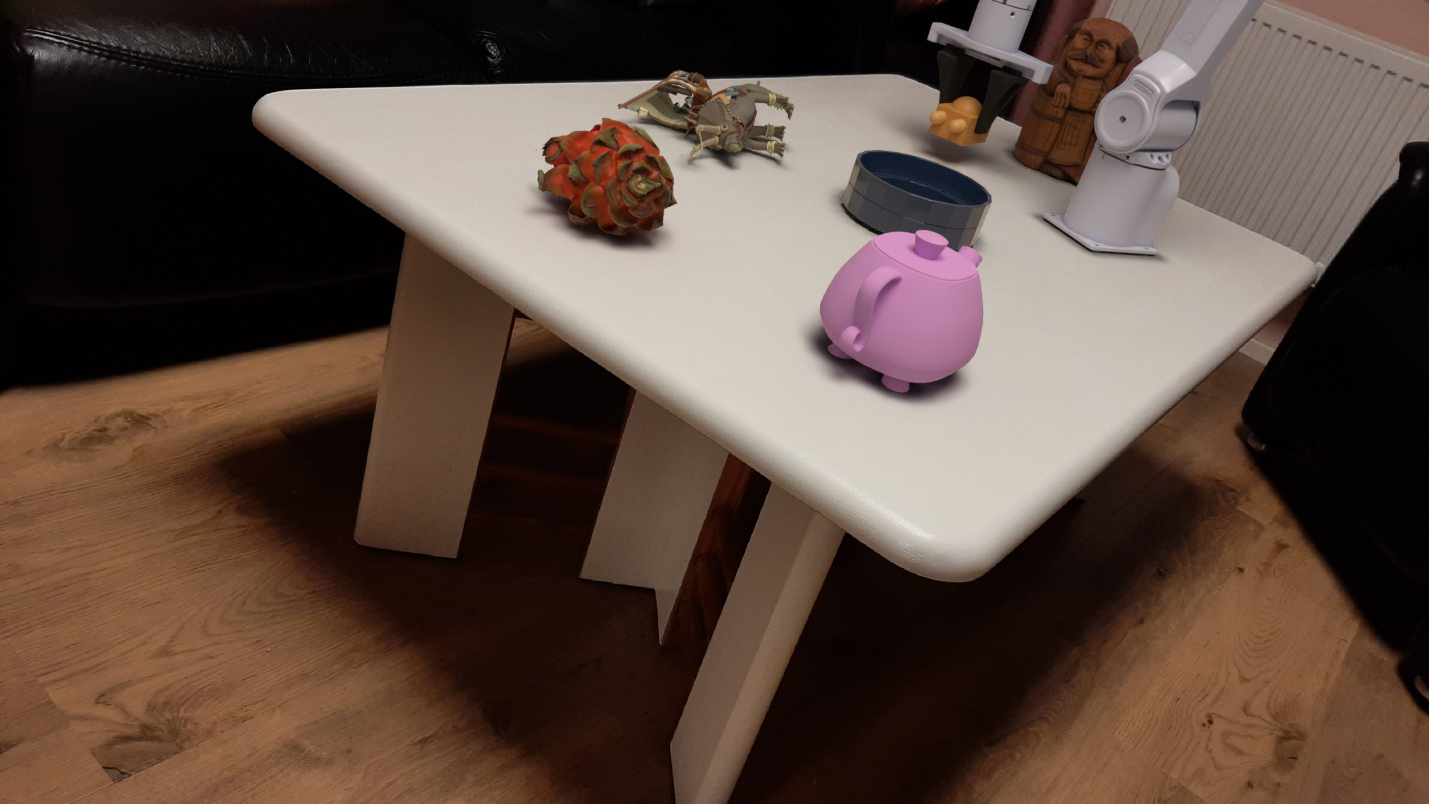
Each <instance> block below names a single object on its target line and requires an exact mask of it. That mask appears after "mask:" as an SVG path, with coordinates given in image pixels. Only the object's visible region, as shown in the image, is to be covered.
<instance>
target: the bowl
mask: <svg viewBox="0 0 1429 804" xmlns="http://www.w3.org/2000/svg"><path fill="white" fill-rule="evenodd" d="M992 198H993V197H992V194H991V193H990V192H989V191H988V189H987V188H986V187H985V186H983V185H982V184H980V183H979V182H978V181H976V180H975V179H973V178H972V177H970V176H968V175H966V174H963V173H962V172H960V171H959V170H956V169H953V168H951V167H950V166H949V167H948V166H946V165H944V164H941V163H939V162H937V161H934V160H930V159H927V158H923V157H920V156H918V155H912V154H908V153H905V152H900V151H893V150H884V149H872V150H864V151H861V152H858V153H857V155H856V158H855V160H854V163H853V167H852V170H851V172H850V176H849V178H848V181H847V185H846V188H845V190H844V194H843V197H842V199H841V200H842V203H843V205H844V207H845V209H846V211H848V212H849V213H850V214H851V215H853V216H854V217H855V218H856V219H858V220H859V221H860V222H862V223H864V224H865V225H867V226H869V227H871V228H872V229H874V230H877V231H879V232H881V233H882V234H885V233H889V232H907V233H912V234H916V231H918V230H928V231H932V232H935V233H937V234H940V235H941V236H943V237H944V238H945V239H947V240H948V245H947V247H949V248H951V249H952V250H954V251H959V250H960V248H961V247H962V246H967V247H970V248H971V247H972V246H973V245H975V244H976V243H977V241H978V240H977V239H978V237H979V236H980V235H979V234H980V232H981V230H982V228H983V225H984V223H985V220H986V219H987V215H988V213H989V211H990V207H991V206H992V203H993V199H992Z"/></svg>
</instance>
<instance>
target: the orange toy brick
mask: <svg viewBox="0 0 1429 804" xmlns="http://www.w3.org/2000/svg"><path fill="white" fill-rule="evenodd" d="M982 107H983V105H982V104H981V102H980V101H979V100H978V99H977V98H975V97H972V96H966V95H965V96H960V97H958V99H956V100H955V101H954V102H953V103H944V104H939V103H938V104H937V106H936V109H935V111H932V112H931V113H930V114H929V121H930V126H929V129H928V132H929V133H932V134H933V135H935V136H938V137H941V138H943V139H944V140H947V141H950V142H951V143H954V144H956V145H957V146H960V147H961V146H968V145H969V146H970V145H974V144H975V145H976V144H982V143H986V141H987V138H988V136H989V134H990V131H991V129H992V126H993V124H992V125H991V127H990V128H989V130H988V132H987V133H986V134H976V133H974V130H975V126H976V123H977V119H978V117H979V114H980V112H981V109H982Z"/></svg>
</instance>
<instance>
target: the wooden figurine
mask: <svg viewBox="0 0 1429 804" xmlns="http://www.w3.org/2000/svg"><path fill="white" fill-rule="evenodd" d="M1053 48H1054V49H1053V51H1052V53H1051V55H1050V59H1049V61H1048V62H1047V64H1050V65H1052V66H1054V67H1053V70H1052V72H1051V75H1050V77H1049V80H1048V82H1047V83H1046V84H1040V85H1039V86H1038V88H1037V90H1036V91H1035V94H1034V96H1033V99H1032V101H1031V104H1030V106H1029V108H1028V111H1027V113H1026V116H1025V118H1024V120H1023V124H1022V126H1021V129H1020V131H1019V135H1018V137H1017V141H1016V143H1015V146H1014V149H1013V155H1014V157H1015V158H1016V159H1017V160H1018V161H1019V162H1020V163H1021V164H1023V165H1025V166H1027V167H1028V168H1031V169H1032V170H1039V171H1041V172H1043V173H1045V174H1047V175H1051V176H1054V177H1056V178H1058V179H1060V180H1068V181H1071V182H1073V183H1075V184H1077V185H1078V183H1079V181H1080V178H1081V176H1082V174H1083V172H1084V169H1085V167H1086V165H1087V163H1088V160H1089V158H1090V156H1091V154H1092V152H1093V149H1094V147H1095V146H1094V145H1095V143H1096V141H1097V139H1098V138H1097V136H1096V133H1095V127H1094V119H1095V114H1096V111H1097V108H1098V106H1099V104H1100V102H1101V101H1102V99H1103V98H1104V97H1105V96H1106V95H1107V94H1108V93H1109V92H1111V91H1112V90H1114V89H1115V88H1117V87H1119V86H1120V85H1121V84H1122V83H1123V82H1124V81H1125V80H1126V79H1127V77H1128V76H1129V74H1130V73H1131V71H1132V70H1133V69H1134V68H1135V67H1136V66H1138V65H1139V64H1140V63H1142V62H1143V61H1144V60H1142V58H1141V57H1140V56H1139V55H1140V49H1139V44H1138V42H1137V39H1136V37H1135V35H1134V34H1133V32H1132V31H1131V30H1130V29H1129V28H1128V27H1127V26H1126V25H1124V24H1123V23H1121V22H1119V21H1116V20H1113V19H1111V18H1108V17H1103V16H1102V17H1100V16H1099V17H1097V16H1096V17H1089V18H1085V19H1082V20H1081V21H1078V22H1075V24H1073V25H1072V26H1071V27H1070V28H1069V30H1068V31H1067V34H1066V35H1064V36H1061V38H1059V40H1058V41H1057V42H1056V44H1055V46H1054V47H1053Z"/></svg>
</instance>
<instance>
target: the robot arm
mask: <svg viewBox="0 0 1429 804" xmlns="http://www.w3.org/2000/svg"><path fill="white" fill-rule="evenodd" d="M1265 2H1266V0H1191V2H1190V3H1189V5H1188V6H1187V8H1186V9H1185V11H1184V13H1182V15H1181V16H1180V18H1179V20H1178V21H1177V23H1176V24H1175V26H1174V28H1173V29H1172V30H1171V31H1170V33H1169V34H1168V37H1167V38H1166V39H1165V40H1164V43H1163V44H1162V45H1161V47H1160V49H1159V50H1157V51H1156V52H1155V53H1153V54H1152V55H1151V56H1149V57H1148V58H1146V59H1144V60H1142V61H1143V62H1142V63H1140V64H1139V65H1138V66H1136V67H1135V68H1134V69H1133V70H1132V71H1131V73H1130V74H1129V76H1128V77H1127V79H1126V80H1125V81H1124V82H1123V83H1122V84H1121V85H1120V86H1119V87H1117V88H1115V89H1114V90H1112V91H1111V92H1109V93H1108V94H1107V95H1106V96H1105V97H1104V98H1103V99H1102V101H1101V102H1100V104H1099V106H1098V108H1097V111H1096V114H1095V119H1094V127H1095V133H1096V136H1097V138H1098V139H1097V141H1096V143H1095V145H1094V146H1095V147H1094V149H1093V152H1092V154H1091V156H1090V158H1089V160H1088V163H1087V165H1086V167H1085V169H1084V172H1083V174H1082V176H1081V178H1080V181H1079V183H1078V184H1077V186H1076V187H1075V190H1074V192H1073V194H1072V196H1071V199H1070V201H1069V203H1068V206H1067V207H1066V210H1065V211H1064V214H1061V213H1060V214H1059V213H1048V212H1045V213H1044V214H1043V218H1044V219H1045V220H1047V221H1048V222H1049V223H1051V224H1052V225H1054V226H1056V227H1057V228H1058V229H1060V230H1061V231H1062V232H1064V233H1066V234H1067V235H1069V236H1070V237H1071V238H1073V239H1074V240H1076V241H1077V242H1079V244H1081V245H1083V246H1084V247H1086V248H1088V249H1089V250H1091V251H1096V252H1111V253H1125V254H1141V255H1152V256H1153V255H1154V256H1155V255H1157V254H1158V250H1157V248H1155V247H1154V244H1155V243H1156V240H1157V239H1158V236H1159V234H1160V233H1161V231H1162V228H1163V226H1164V224H1165V223H1166V220H1167V219H1168V216H1169V214H1170V212H1171V210H1172V208H1173V207H1174V204H1175V202H1176V200H1177V198H1178V195H1179V192H1180V176H1179V173H1178V171H1177V169H1176V168H1175V166H1174V165H1173V164H1172V163H1171V160H1172V157H1173V156H1174V153H1175V152H1179V151H1181V150H1183V149H1185V147H1187V146H1188V145H1189V144H1190V143H1191V142H1192V141H1193V140H1194V138H1195V137H1196V135H1197V133H1198V131H1199V128H1200V125H1201V119H1202V115H1203V112H1204V110H1205V108H1206V106H1207V105H1208V103H1209V102H1210V100H1211V99H1212V97H1213V93H1214V91H1213V81H1212V78H1213V75H1214V74H1215V72H1216V71H1217V69H1218V68H1219V67H1220V66H1221V64H1222V62H1223V61H1224V60H1225V58H1226V57H1227V55H1228V54H1229V52H1230V51H1231V50H1232V48H1233V46H1234V45H1235V44H1236V43H1237V41H1238V40H1239V38H1240V37H1241V36H1242V34H1243V33H1244V31H1245V30H1246V28H1247V27H1248V26H1249V24H1250V23H1251V21H1252V20H1253V19H1254V17H1255V16H1256V15H1257V13H1258V11H1259V10H1260V9H1261V7H1262V6H1263V4H1264V3H1265ZM1036 3H1037V0H979V1H978V4H977V6H976V10H975V12H974V15H973V18H972V19H971V24H970V26H969V29H968V31H967V30H963V29H961V28H958V27H954V26H951V25H949V24H945V23H943V22H932V24H931V26H930V29H929V33H928V36H927V40H926V41H929V42H932V43H937V44H940V45H942V46H944V48H943V49H942V50H938V51H937V55H936V60H937V66H938V72H939V95H938V96H939V97H938V98H939V99H938V104H944V103H953V102H954V101H955V100H956V99H958V98H959V96H960V93H961V90H962V88H963V87H964V84H965V82H966V79H967V78H968V75H969V74H970V72H971V70H972V68H973V66H974V64H975V63H976V61H977V60H980V61H983V62H986V63H989V64H990V65H993V66H996V67H998V68H1001V69H991V70H990V73H989V79H988V83H987V89H986V93H985V97H984V101H983V105H982V109H981V112H980V114H979V117H978V119H977V123H976V126H975V130H974V133H976V134H986V133H987V132H988V130H989V128H990V127H991V128H992V126H993V123H994V122H995V121H996V119H997V118H998V116H999V115H1000V113H1001V112H1002V111H1003V109H1004V108H1006V106H1007V105H1008V103H1009V102H1010V101H1011V100H1012V99H1013V98H1014V97H1015V96H1016V95H1017V94H1018V93H1019V92H1020V91H1022V89H1023V88H1024V87H1026V85H1027V84H1028V83H1029V81H1031V82H1032V83H1035V84H1038V85H1042V84H1046V83H1047V82H1048V80H1049V77H1050V75H1051V72H1052V70H1053V67H1054V66H1052V65H1050V64H1048V62H1045V61H1043V60H1041V59H1038V58H1036V57H1034V56H1033V55H1029V54H1027V53H1026V52H1023V51H1022V50H1020V45H1021V43H1022V40H1023V38H1024V36H1025V35H1024V34H1025V32H1026V29H1027V27H1028V25H1029V21H1030V19H1031V16H1032V14H1033V11H1034V9H1035V6H1036ZM991 125H992V126H991ZM991 128H990V129H991Z"/></svg>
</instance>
